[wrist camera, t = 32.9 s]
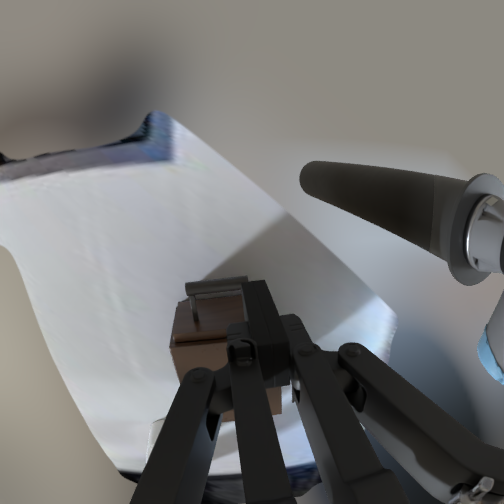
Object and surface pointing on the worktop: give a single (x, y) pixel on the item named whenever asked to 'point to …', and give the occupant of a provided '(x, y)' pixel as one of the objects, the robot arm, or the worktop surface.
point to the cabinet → (212, 365)
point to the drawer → (208, 310)
